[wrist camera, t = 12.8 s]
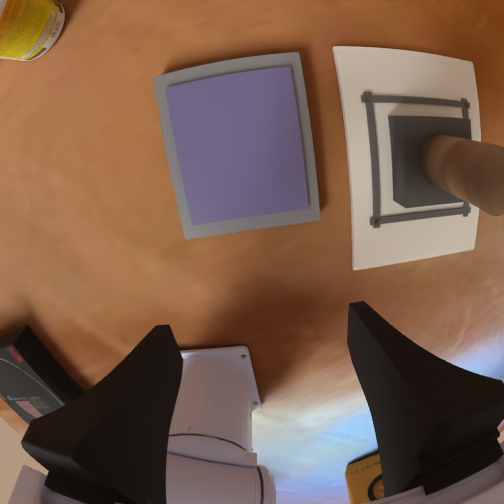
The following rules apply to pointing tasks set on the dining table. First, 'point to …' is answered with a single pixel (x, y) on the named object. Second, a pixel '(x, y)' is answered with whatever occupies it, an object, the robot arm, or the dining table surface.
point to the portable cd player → (32, 376)
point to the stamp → (444, 164)
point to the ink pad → (239, 144)
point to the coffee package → (365, 480)
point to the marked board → (379, 150)
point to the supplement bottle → (29, 27)
